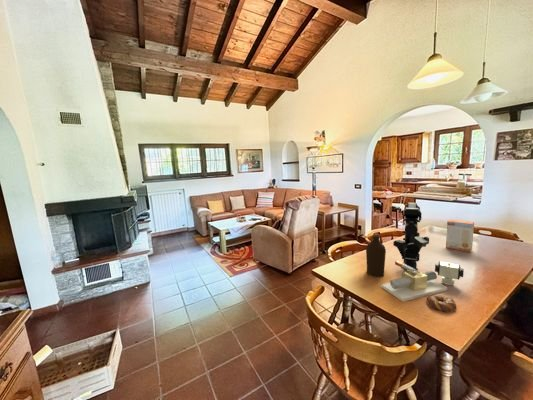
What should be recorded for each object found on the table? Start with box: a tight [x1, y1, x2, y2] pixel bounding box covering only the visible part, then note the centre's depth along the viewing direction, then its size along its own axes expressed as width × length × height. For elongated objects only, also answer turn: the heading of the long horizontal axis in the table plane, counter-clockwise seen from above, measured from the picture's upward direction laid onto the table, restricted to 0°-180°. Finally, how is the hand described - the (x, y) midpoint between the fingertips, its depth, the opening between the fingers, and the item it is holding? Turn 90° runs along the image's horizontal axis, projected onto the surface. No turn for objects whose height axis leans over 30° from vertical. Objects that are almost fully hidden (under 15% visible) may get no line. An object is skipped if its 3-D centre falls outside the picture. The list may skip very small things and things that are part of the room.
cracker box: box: [445, 219, 475, 253], centre depth 163 cm, size 14×6×21 cm, turn 38°
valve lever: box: [394, 260, 418, 274], centre depth 123 cm, size 12×3×2 cm, turn 15°
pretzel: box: [426, 294, 458, 313], centre depth 105 cm, size 12×11×4 cm
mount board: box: [381, 280, 448, 302], centre depth 120 cm, size 14×28×2 cm, turn 105°
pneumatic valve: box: [434, 261, 464, 286], centre depth 121 cm, size 6×12×12 cm, turn 51°
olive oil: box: [365, 233, 387, 278], centre depth 135 cm, size 11×11×25 cm
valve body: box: [389, 269, 438, 291], centre depth 119 cm, size 8×26×7 cm, turn 105°
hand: (409, 257), depth 128 cm, fingers open, 9 cm apart
